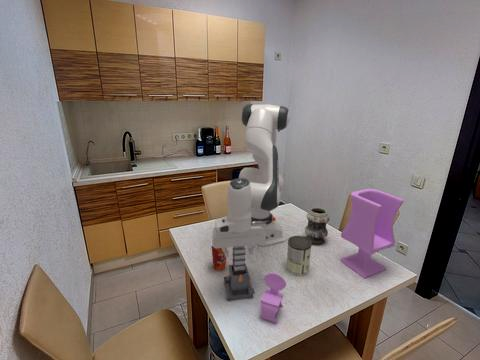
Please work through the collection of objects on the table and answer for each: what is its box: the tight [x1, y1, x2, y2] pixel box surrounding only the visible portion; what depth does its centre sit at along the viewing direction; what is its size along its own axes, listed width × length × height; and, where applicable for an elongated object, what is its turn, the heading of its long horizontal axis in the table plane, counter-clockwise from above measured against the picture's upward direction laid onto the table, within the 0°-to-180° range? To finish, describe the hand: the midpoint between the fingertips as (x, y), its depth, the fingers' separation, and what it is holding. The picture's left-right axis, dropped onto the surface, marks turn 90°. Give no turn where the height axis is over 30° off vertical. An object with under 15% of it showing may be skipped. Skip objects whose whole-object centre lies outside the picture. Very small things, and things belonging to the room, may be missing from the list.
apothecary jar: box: [304, 206, 330, 246], centre depth 137 cm, size 12×12×18 cm
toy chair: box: [259, 272, 287, 324], centre depth 91 cm, size 8×9×15 cm
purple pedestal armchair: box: [339, 188, 405, 279], centre depth 114 cm, size 16×16×35 cm
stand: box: [223, 262, 256, 302], centre depth 102 cm, size 11×11×10 cm
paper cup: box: [210, 240, 228, 272], centre depth 115 cm, size 8×8×14 cm
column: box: [232, 246, 246, 275], centre depth 100 cm, size 4×4×18 cm
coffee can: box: [285, 235, 313, 277], centre depth 115 cm, size 10×10×14 cm
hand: (238, 254), depth 98 cm, fingers open, 8 cm apart
